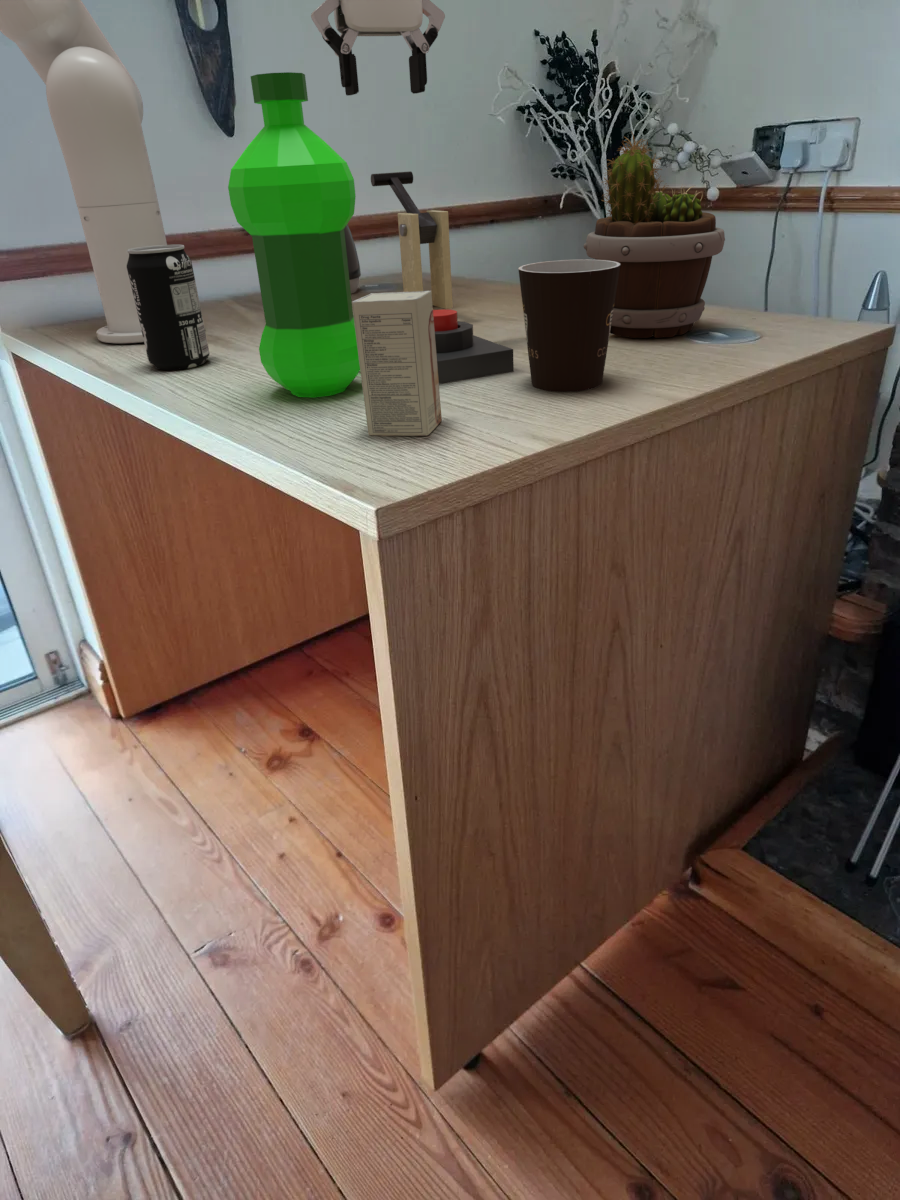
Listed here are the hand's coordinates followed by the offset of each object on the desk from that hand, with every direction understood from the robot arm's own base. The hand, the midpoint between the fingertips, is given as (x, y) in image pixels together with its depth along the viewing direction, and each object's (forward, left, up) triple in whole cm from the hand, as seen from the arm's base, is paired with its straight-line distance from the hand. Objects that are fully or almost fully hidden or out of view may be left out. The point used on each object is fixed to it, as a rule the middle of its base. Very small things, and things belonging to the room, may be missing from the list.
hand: (385, 92), depth 100 cm
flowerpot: (+33, +17, -26) cm, 46 cm away
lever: (+4, 0, -13) cm, 14 cm away
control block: (+35, -10, -26) cm, 45 cm away
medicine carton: (+52, -21, -26) cm, 62 cm away
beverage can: (+15, -33, -26) cm, 45 cm away
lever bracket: (+9, 0, -26) cm, 28 cm away
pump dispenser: (-15, -6, -26) cm, 31 cm away
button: (+35, -10, -22) cm, 43 cm away
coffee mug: (+47, -2, -26) cm, 54 cm away
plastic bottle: (+37, -23, -26) cm, 51 cm away
